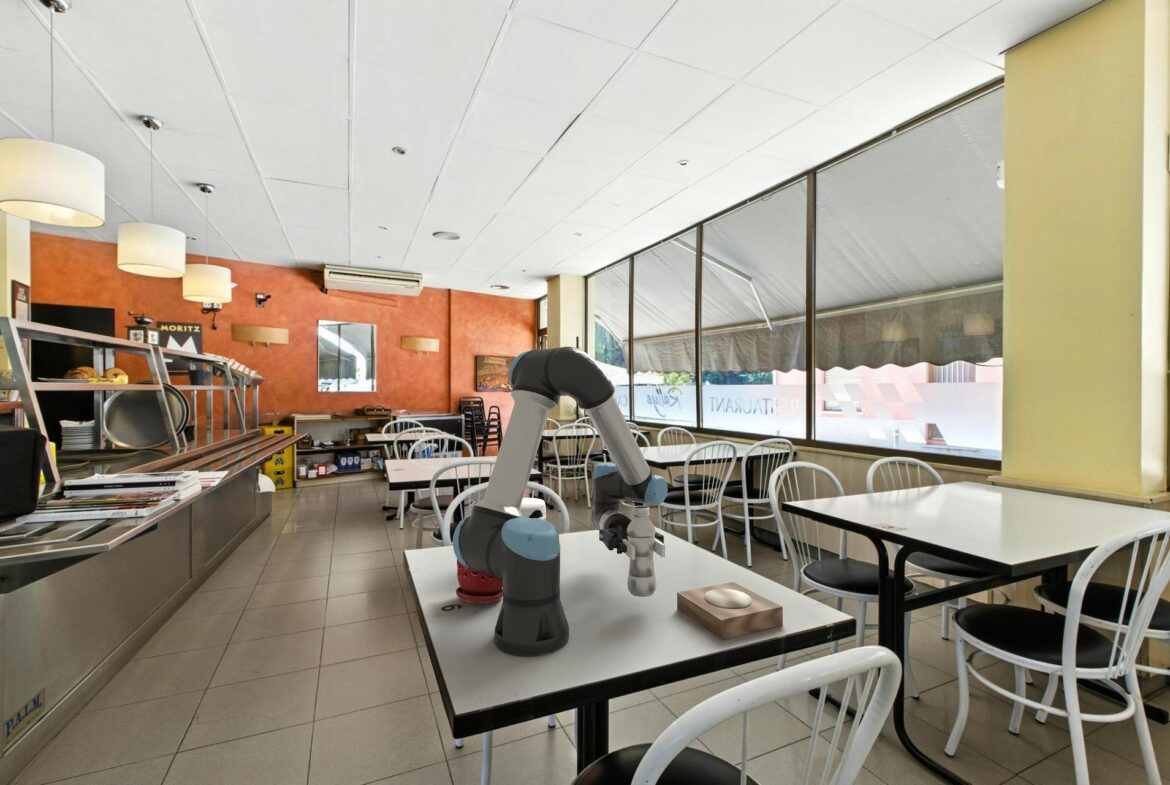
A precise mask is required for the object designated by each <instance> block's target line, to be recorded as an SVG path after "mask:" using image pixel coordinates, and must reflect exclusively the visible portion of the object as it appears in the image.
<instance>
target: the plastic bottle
mask: <svg viewBox="0 0 1170 785" xmlns="http://www.w3.org/2000/svg"><path fill="white" fill-rule="evenodd" d="M632 507H633V508H632V516H633V518H632V519H631V520H632V521H631V522H630V524H629V525H628V528H627V537H628V542H629V543H631V544H632V545H633V546H634V547H635V560H632V559H630V558H629V567H628V568H629V569H628V575H627V589H628V592H629V593H630V594H631V595H632V596H634V597H639V598H647V597H651V596H653V595H654V594H655V592H656V591H657V590H656V589H657V578H656V574H655V567H654V540H655V531H656V527H655V526H654V523H653V522H652V521H651V519H650V518H649V517H650V516H651V514H650V513H651V512H650V506H648V505H635V506H632Z"/></svg>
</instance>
